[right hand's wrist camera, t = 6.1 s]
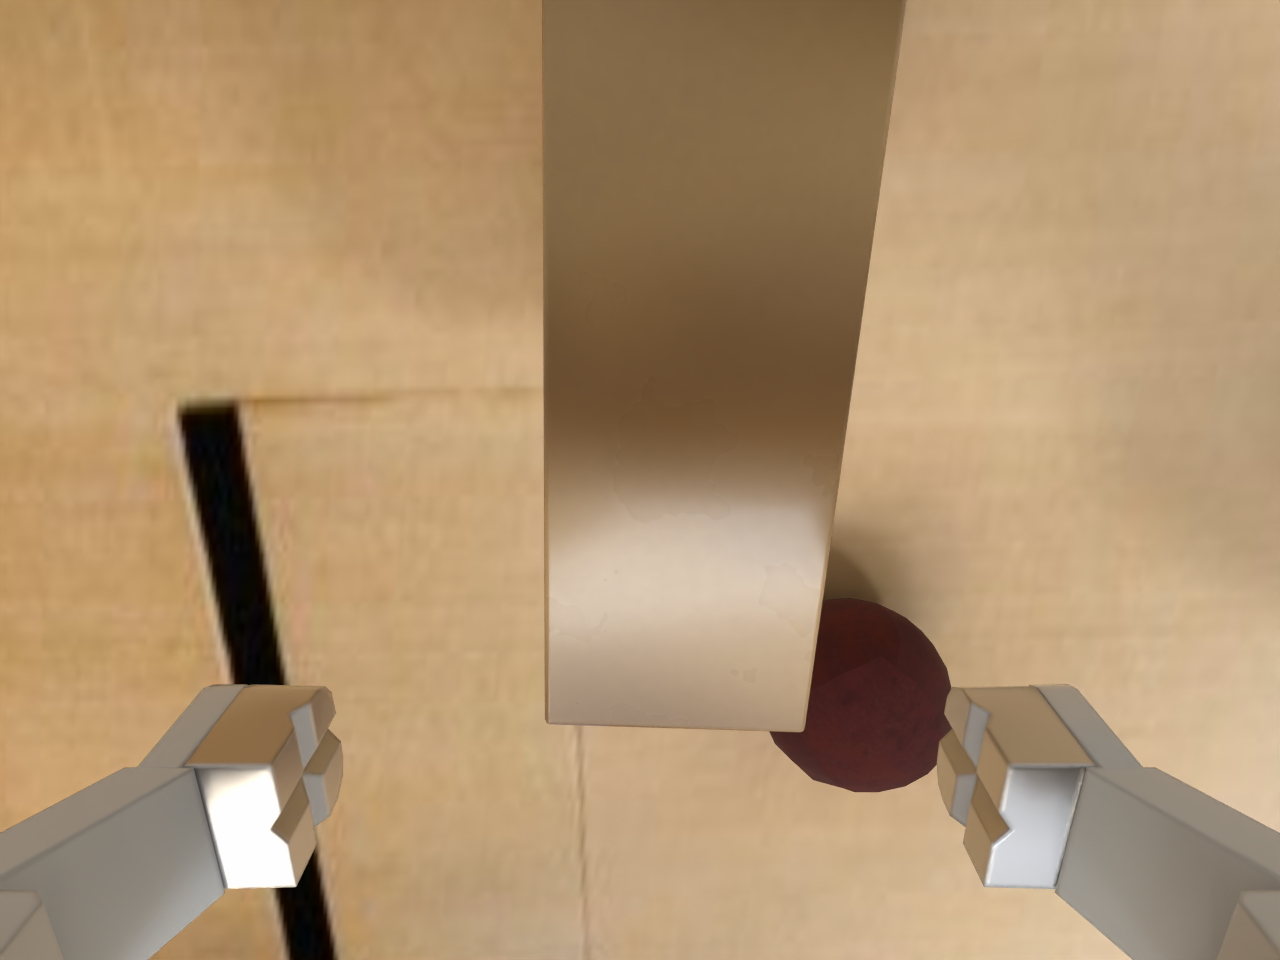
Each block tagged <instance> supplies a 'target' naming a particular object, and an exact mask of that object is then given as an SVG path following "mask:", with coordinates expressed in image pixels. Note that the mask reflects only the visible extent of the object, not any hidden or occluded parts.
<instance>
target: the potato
mask: <svg viewBox="0 0 1280 960" xmlns="http://www.w3.org/2000/svg"><path fill="white" fill-rule="evenodd" d="M950 690H951V685H950V680H949V676H948V672H947V668H946V666H945V664H944V663H943V661H942V659H941V657H940V656H939V654H938V652H937V651H936V649H935V647H934V645H933V644H932V643H931V642H930V640H929V639H928V638H927V637H926V636H925V634H924V633H923V632H922V631H921V630H920V629H919V628H917V627H916V626H915V625H914V624H913V623H911V622H910V621H909V620H908V619H907V618H905V617H903V616H901V615H900V614H898V613H896V612H894V611H892V610H890V609H888V608H885V607H883V606H881V605H879V604H876V603H872V602H867V601H862V600H857V599H851V598H847V599H832V600H827V601H824V602H822V609H821V616H820V623H819V630H818V637H817V644H816V652H815V659H814V666H813V673H812V680H811V687H810V694H809V702H808V709H807V716H806V723H805V728H804V730H803V731H802V732H778V731H769V732H770V734H771V736H772V738H773V740H774V742H775V744H776V745H777V746H778V747H779V748H780V749H781V750H782V751H783V752H784V753H785V754H786V755H787V756H788V757H789V758H790V759H791V760H792V761H793V762H794V763H795V764H796V765H798V766H799V767H800V768H801V769H802V770H803V771H804V772H805V773H806V774H807V775H808V776H809V777H811V778H812V779H813V780H815V781H819V782H823V783H826V784H830V785H834V786H837V787H841V788H844V789H847V790H850V791H853V792H881V791H886V790H890V789H895V788H899V787H904V786H906V785H908V784H910V783H912V782H914V781H916V780H917V779H919V778H921V777H923V776H925V775H927V774H928V773H929V772H930V771H931V770H932V769H933V768H934V767H935V766H936V765H937V756H938V748H939V741H940V740H941V739H942V738H943V737H944V736H945V735H946V734H947V733H948V732H949V731H950V730H951V729H952V727H951V725H950V723H949V721H948V719H947V718H946V716H945V714H944V711H945V706H946V700H947V696H948V694H949V692H950Z"/></svg>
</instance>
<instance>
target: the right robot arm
mask: <svg viewBox="0 0 1280 960" xmlns="http://www.w3.org/2000/svg"><path fill="white" fill-rule="evenodd" d="M335 714H336V711H335V707H334V702H333V697H332V692H331V691H330V690H329V689H327V688H326V687H325V686H290V685H250V686H249V685H211V686H208V687H206V688H203V689H202V690H201V692H200V693H199V694H198V695H197V696H196V698H195V699H194V700H193V701H192V702H191V704H190V705H189V706H188V707H187V708H186V709H185V711H184V712H183V713H182V714H181V715H180V717H179V718H178V719H177V720H176V721H175V723H174V724H173V725H172V726H171V727H170V729H169V730H168V731H167V732H166V733H165V735H164V736H163V737H162V738H161V739H160V740H159V742H158V743H157V744H156V745H155V746H154V748H153V749H152V750H151V751H150V752H149V754H148V755H147V756H146V757H145V758H144V760H143V761H142V762H141V763H140V764H139V766H138V767H137V768H123V769H121V770H119V771H117V772H115V773H113V774H111V775H109V776H108V777H106V778H104V779H102V780H100V781H98V782H96V783H94V784H92V785H90V786H89V787H87V788H85V789H83V790H81V791H79V792H77V793H75V794H73V795H71V796H70V797H68V798H66V799H64V800H62V801H60V802H58V803H56V804H54V805H52V806H51V807H49V808H47V809H45V810H43V811H41V812H39V813H37V814H35V815H33V816H32V817H30V818H28V819H26V820H24V821H22V822H20V823H18V824H16V825H14V826H13V827H11V828H9V829H7V830H5V831H3V832H1V833H0V960H148V959H149V958H150V957H151V956H152V955H154V954H155V953H156V952H157V951H158V950H159V949H161V948H162V947H163V946H164V945H165V944H166V943H167V942H169V941H170V940H171V939H172V938H173V937H174V936H176V935H177V934H178V933H179V932H180V931H181V930H183V929H184V928H185V927H186V926H187V925H188V924H189V923H191V922H192V921H193V920H194V919H195V918H196V917H198V916H199V915H200V914H201V913H202V912H203V911H204V910H206V909H207V908H208V907H209V906H210V905H211V904H213V903H214V902H215V901H216V900H217V899H218V898H220V897H221V896H222V895H223V894H224V893H225V890H224V889H240V888H275V887H296V886H297V884H298V882H299V879H300V877H301V875H302V873H303V871H304V869H305V867H306V865H307V863H308V861H309V859H310V857H311V855H312V852H313V850H314V848H315V846H316V844H317V841H316V835H315V830H314V827H315V826H316V825H318V824H319V823H321V822H322V821H323V820H325V819H326V818H327V817H329V816H330V815H331V812H332V810H333V808H334V806H335V803H336V801H337V799H338V795H339V791H340V786H341V781H342V777H343V754H342V747H341V741H340V740H339V739H338V738H337V737H336V736H335V735H334V734H333V733H332V732H331V731H330V730H329V729H328V727H329V725H330V723H331V721H332V719H333V718H334V716H335ZM944 714H945V716H946V718H947V719H948V721H949V723H950V725H951V727H952V729H951V730H950V731H949V732H948V733H947V734H946V735H945V736H944V737H943V738H942V739H941V740H940V741H939V748H938V756H937V772H938V784H939V788H940V791H941V795H942V799H943V801H944V804H945V806H946V808H947V810H948V812H949V815H950V816H951V817H953V818H954V819H955V820H957V821H958V822H959V823H961V824H962V825H964V826H965V827H966V830H965V835H964V841H963V844H964V846H965V848H966V850H967V852H968V855H969V857H970V859H971V861H972V863H973V865H974V867H975V869H976V871H977V873H978V875H979V877H980V879H981V881H982V883H983V886H984V887H1004V888H1039V889H1056V890H1055V893H1056V894H1057V895H1059V896H1060V897H1061V898H1062V899H1063V900H1064V901H1066V902H1067V903H1068V904H1069V905H1070V906H1071V907H1072V908H1074V909H1075V910H1076V911H1077V912H1078V913H1079V914H1081V915H1082V916H1083V917H1084V918H1085V919H1086V920H1087V921H1089V922H1090V923H1091V924H1092V925H1093V926H1094V927H1095V928H1097V929H1098V930H1099V931H1100V932H1101V933H1102V934H1104V935H1105V936H1106V937H1107V938H1108V939H1109V940H1110V941H1112V942H1113V943H1114V944H1115V945H1116V946H1117V947H1119V948H1120V949H1121V950H1122V951H1123V952H1124V953H1125V954H1127V955H1128V956H1129V957H1130V958H1131V959H1132V960H1280V833H1278V832H1277V831H1275V830H1273V829H1271V828H1269V827H1267V826H1265V825H1263V824H1261V823H1260V822H1258V821H1256V820H1254V819H1252V818H1250V817H1248V816H1246V815H1244V814H1242V813H1241V812H1239V811H1237V810H1235V809H1233V808H1231V807H1229V806H1227V805H1225V804H1224V803H1222V802H1220V801H1218V800H1216V799H1214V798H1212V797H1210V796H1208V795H1207V794H1205V793H1203V792H1201V791H1199V790H1197V789H1195V788H1193V787H1191V786H1189V785H1188V784H1186V783H1184V782H1182V781H1180V780H1178V779H1176V778H1174V777H1172V776H1171V775H1169V774H1167V773H1165V772H1163V771H1161V770H1159V769H1157V768H1143V767H1142V766H1141V764H1140V763H1139V762H1138V761H1137V760H1136V758H1135V757H1134V756H1133V755H1132V754H1131V752H1130V751H1129V750H1128V749H1127V748H1126V746H1125V745H1124V744H1123V743H1122V742H1121V741H1120V739H1119V738H1118V737H1117V736H1116V735H1115V733H1114V732H1113V731H1112V730H1111V729H1110V727H1109V726H1108V725H1107V724H1106V723H1105V722H1104V720H1103V719H1102V718H1101V717H1100V716H1099V714H1098V713H1097V712H1096V711H1095V710H1094V708H1093V707H1092V706H1091V705H1090V704H1089V702H1088V701H1087V700H1086V699H1085V698H1084V697H1083V695H1082V694H1081V693H1080V692H1079V691H1078V689H1076V688H1074V687H1073V686H1071V685H1069V684H1053V685H1029V686H1014V687H952V688H951V690H950V692H949V694H948V696H947V700H946V706H945V711H944Z"/></svg>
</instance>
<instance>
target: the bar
mask: <svg viewBox="0 0 1280 960" xmlns="http://www.w3.org/2000/svg"><path fill="white" fill-rule="evenodd" d="M905 7H906V0H542V87H543V341H544V595H545V720H546V722H547V723H548V724H560V725H591V726H622V727H653V728H684V729H715V730H746V731H778V732H802V731H803V730H804V728H805V723H806V716H807V709H808V702H809V694H810V687H811V680H812V673H813V666H814V659H815V652H816V644H817V637H818V630H819V623H820V616H821V609H822V601H823V594H824V587H825V580H826V573H827V566H828V558H829V551H830V544H831V537H832V530H833V523H834V515H835V508H836V501H837V494H838V487H839V480H840V472H841V465H842V458H843V451H844V444H845V437H846V429H847V422H848V415H849V408H850V401H851V394H852V387H853V379H854V372H855V365H856V358H857V351H858V344H859V336H860V329H861V322H862V315H863V308H864V301H865V293H866V286H867V279H868V272H869V265H870V258H871V250H872V243H873V236H874V229H875V222H876V215H877V207H878V200H879V193H880V186H881V179H882V172H883V165H884V157H885V150H886V143H887V136H888V129H889V122H890V114H891V107H892V100H893V93H894V86H895V79H896V71H897V64H898V57H899V50H900V43H901V36H902V28H903V21H904V14H905Z"/></svg>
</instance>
